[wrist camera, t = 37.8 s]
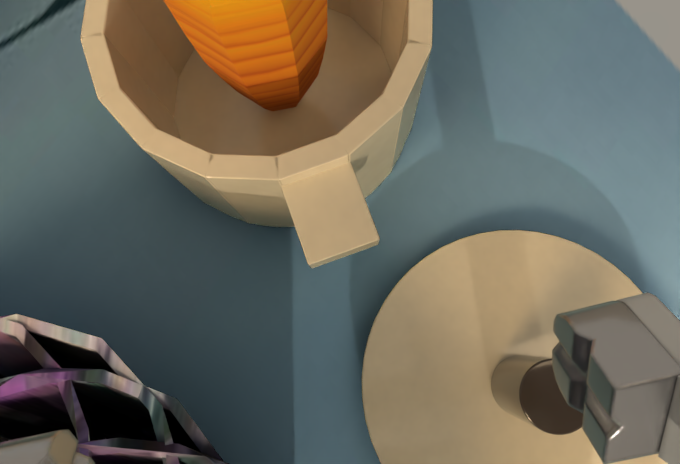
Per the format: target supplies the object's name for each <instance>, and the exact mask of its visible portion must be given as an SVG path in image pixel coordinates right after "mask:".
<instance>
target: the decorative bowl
mask: <svg viewBox="0 0 680 464" xmlns="http://www.w3.org/2000/svg"><path fill="white" fill-rule="evenodd" d="M68 429H69V430H70V432H71V433H72V434H73V435H74V436H75V437H76V439H77V440H78V441H79V442H78V446H77V449H76V452H79V453H81V454H84V455H86V456H89V457H91V458H92V460H93V461H94V462H95V464H229V463H226V462H224V461H223V460H222V458H221V457H220V456H219V454H218V453H217V452H216V450H215V449H214V448H213V446H212V445H211V444H210V442H209V441H208V440H207V438H206V437H205V436H204V434H203V433H202V432H201V430H200V429H199V428H198V426H197V425H196V423H195V422H194V421H193V419H192V418H191V417H190V415H189V414H188V413H187V411H186V410H185V409H184V407H183V406H182V405H181V403H180V402H179V401H178V399H177V398H174V397H172V396H169V395H167V394H164V393H162V392H159V391H156V390H154V389H151V388H149V387H146V386H144V384H143V383H142V382H141V381H140V380H139V379H138V378H137V377H136V376H135V374H134V373H133V372H132V371H131V370H130V369H129V368H128V367H127V366H126V364H125V363H124V362H123V361H122V360H121V359H120V358H119V357H118V356H117V354H116V353H115V352H114V351H113V350H112V349H111V348H110V347H109V346H108V345H107V343H106V342H105V341H104V340H103V339H102V338H99V337H96V336H92V335H89V334H85V333H82V332H78V331H75V330H71V329H68V328H65V327H61V326H58V325H54V324H51V323H47V322H44V321H40V320H37V319H33V318H30V317H26V316H23V315H19V314H12V315H7V316H2V317H0V443H1V442H4V441H9V440H14V439H19V438H24V437H29V436H34V435H38V434H43V433H48V432H53V431H58V430H68Z"/></svg>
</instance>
